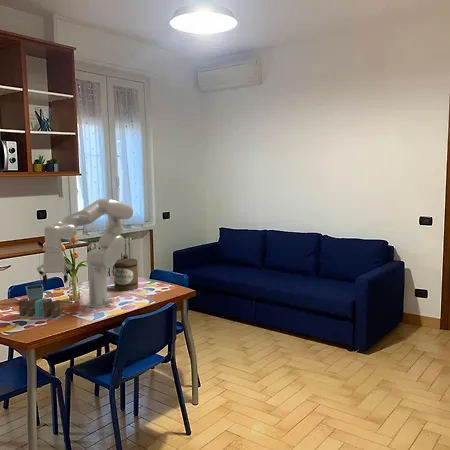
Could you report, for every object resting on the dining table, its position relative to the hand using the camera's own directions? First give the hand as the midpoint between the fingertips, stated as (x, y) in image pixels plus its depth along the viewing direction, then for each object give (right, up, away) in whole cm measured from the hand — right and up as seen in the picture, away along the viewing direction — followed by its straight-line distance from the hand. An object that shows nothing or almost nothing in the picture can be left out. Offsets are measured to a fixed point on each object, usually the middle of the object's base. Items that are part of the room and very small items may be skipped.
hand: (55, 283), depth 237 cm
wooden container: (+23, -11, +61) cm, 66 cm away
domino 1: (-18, -17, +5) cm, 25 cm away
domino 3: (-5, -17, +2) cm, 18 cm away
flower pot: (-22, -15, +29) cm, 39 cm away
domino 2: (-14, -17, +4) cm, 22 cm away
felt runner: (-9, -18, +3) cm, 20 cm away
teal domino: (-9, -17, +3) cm, 20 cm away
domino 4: (0, -17, +2) cm, 18 cm away
